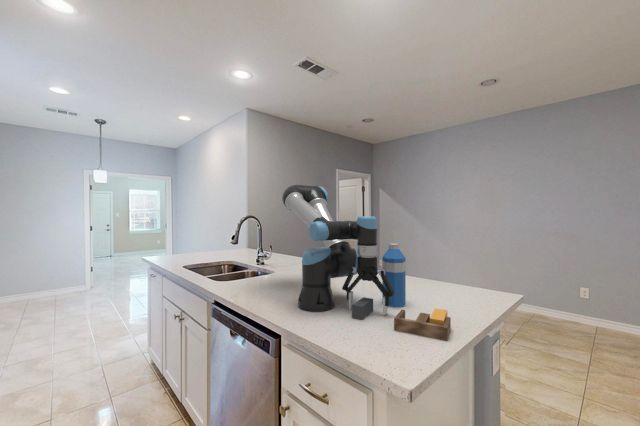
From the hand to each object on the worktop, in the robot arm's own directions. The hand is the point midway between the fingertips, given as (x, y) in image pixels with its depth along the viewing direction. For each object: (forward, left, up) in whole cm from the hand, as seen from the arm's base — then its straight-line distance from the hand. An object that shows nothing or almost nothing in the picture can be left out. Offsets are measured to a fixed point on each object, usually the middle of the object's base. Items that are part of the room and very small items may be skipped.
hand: (367, 311), depth 110 cm
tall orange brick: (+26, -4, 0) cm, 26 cm away
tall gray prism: (0, -4, 0) cm, 4 cm away
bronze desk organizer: (+21, -7, 0) cm, 23 cm away
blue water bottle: (+6, +15, 0) cm, 16 cm away
